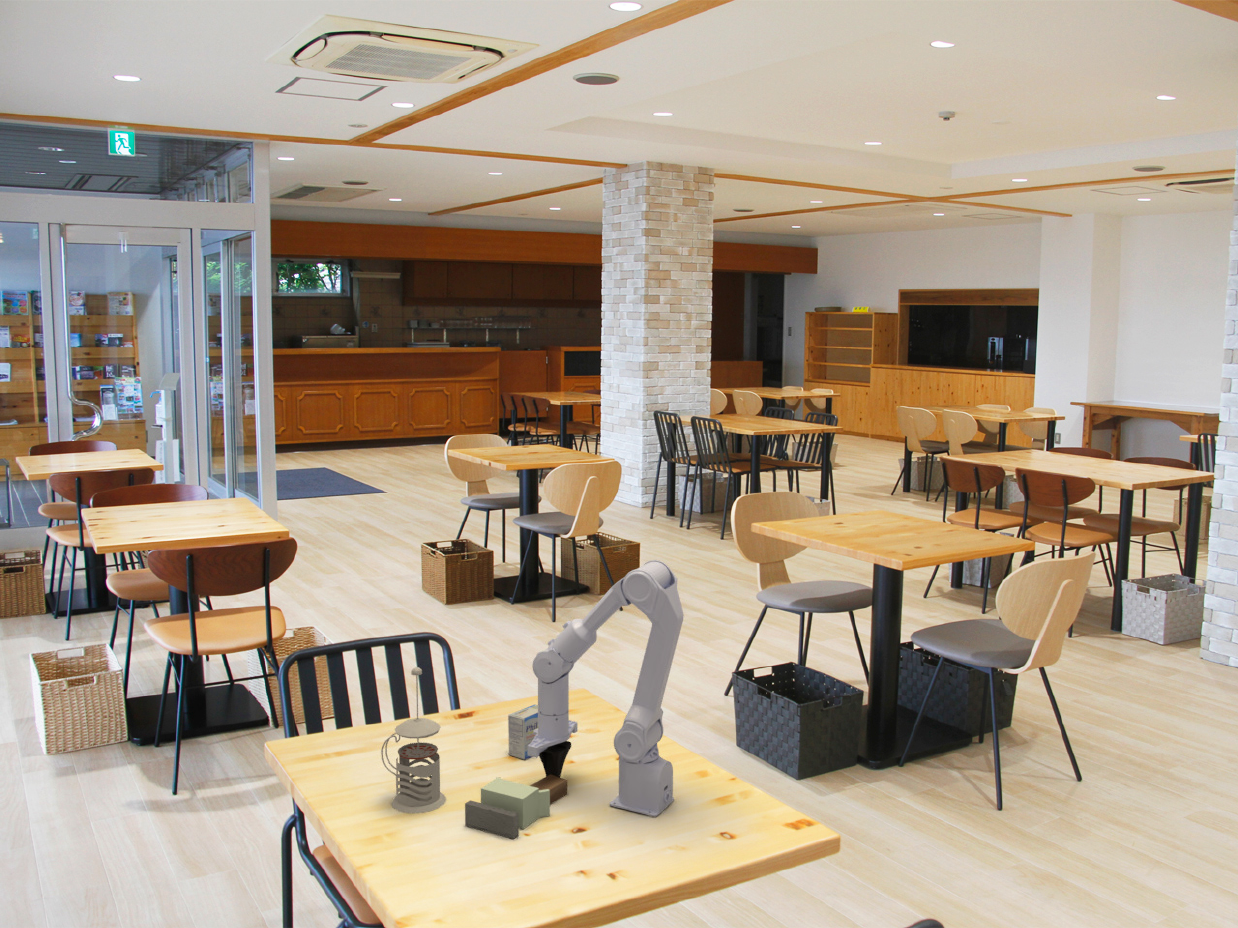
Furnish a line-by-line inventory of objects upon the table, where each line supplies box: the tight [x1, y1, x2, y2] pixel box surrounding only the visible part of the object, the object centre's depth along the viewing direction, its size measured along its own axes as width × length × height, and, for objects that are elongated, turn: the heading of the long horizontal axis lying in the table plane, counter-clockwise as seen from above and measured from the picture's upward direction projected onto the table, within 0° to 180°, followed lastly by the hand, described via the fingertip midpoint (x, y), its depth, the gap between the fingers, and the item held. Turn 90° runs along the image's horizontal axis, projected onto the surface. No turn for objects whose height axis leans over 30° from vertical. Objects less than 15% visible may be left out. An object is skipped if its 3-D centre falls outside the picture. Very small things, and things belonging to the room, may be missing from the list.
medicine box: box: [507, 704, 538, 761], centre depth 209 cm, size 8×4×9 cm, turn 143°
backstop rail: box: [464, 800, 520, 840], centre depth 176 cm, size 10×2×4 cm, turn 62°
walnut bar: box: [529, 774, 568, 805], centre depth 185 cm, size 4×14×3 cm, turn 145°
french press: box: [380, 666, 447, 814], centre depth 186 cm, size 10×12×25 cm
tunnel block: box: [480, 776, 551, 830], centre depth 181 cm, size 11×7×5 cm, turn 62°
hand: (553, 780), depth 193 cm, fingers closed
